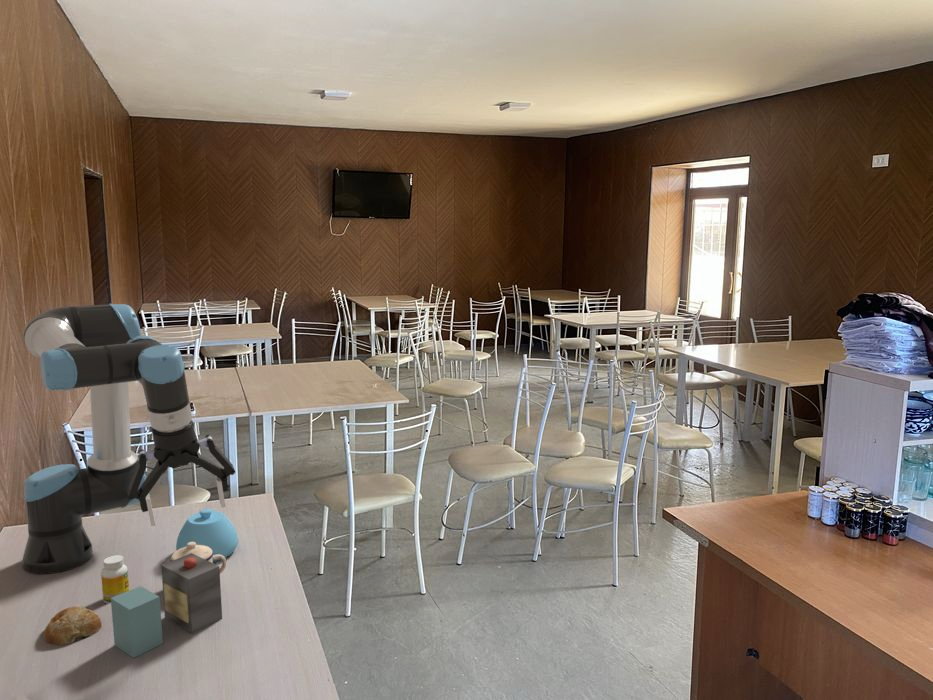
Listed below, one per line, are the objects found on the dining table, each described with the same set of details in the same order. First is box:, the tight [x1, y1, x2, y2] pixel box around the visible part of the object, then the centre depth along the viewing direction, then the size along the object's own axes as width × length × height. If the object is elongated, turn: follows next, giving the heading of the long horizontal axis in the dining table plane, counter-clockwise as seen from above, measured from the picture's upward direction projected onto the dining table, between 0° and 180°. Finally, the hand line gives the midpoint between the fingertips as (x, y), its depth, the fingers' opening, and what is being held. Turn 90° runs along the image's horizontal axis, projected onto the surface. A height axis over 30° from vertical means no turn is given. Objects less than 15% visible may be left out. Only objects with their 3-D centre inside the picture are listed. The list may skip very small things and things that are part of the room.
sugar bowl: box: [175, 508, 239, 563], centre depth 180 cm, size 15×15×12 cm
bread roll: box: [43, 606, 102, 646], centre depth 143 cm, size 10×10×8 cm
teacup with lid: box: [170, 542, 227, 575], centre depth 162 cm, size 12×9×12 cm
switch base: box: [160, 553, 223, 634], centre depth 141 cm, size 12×22×14 cm, turn 144°
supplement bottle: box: [100, 554, 130, 605], centre depth 158 cm, size 5×5×10 cm
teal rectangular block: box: [110, 585, 164, 659], centre depth 138 cm, size 7×6×10 cm
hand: (188, 512), depth 145 cm, fingers open, 13 cm apart
